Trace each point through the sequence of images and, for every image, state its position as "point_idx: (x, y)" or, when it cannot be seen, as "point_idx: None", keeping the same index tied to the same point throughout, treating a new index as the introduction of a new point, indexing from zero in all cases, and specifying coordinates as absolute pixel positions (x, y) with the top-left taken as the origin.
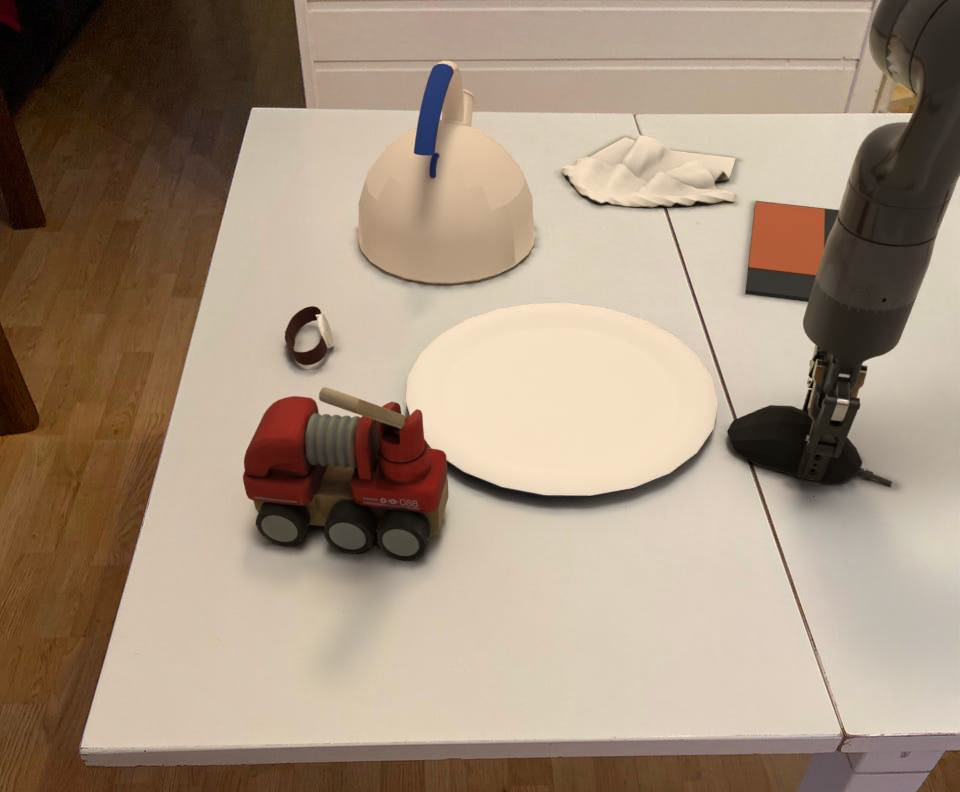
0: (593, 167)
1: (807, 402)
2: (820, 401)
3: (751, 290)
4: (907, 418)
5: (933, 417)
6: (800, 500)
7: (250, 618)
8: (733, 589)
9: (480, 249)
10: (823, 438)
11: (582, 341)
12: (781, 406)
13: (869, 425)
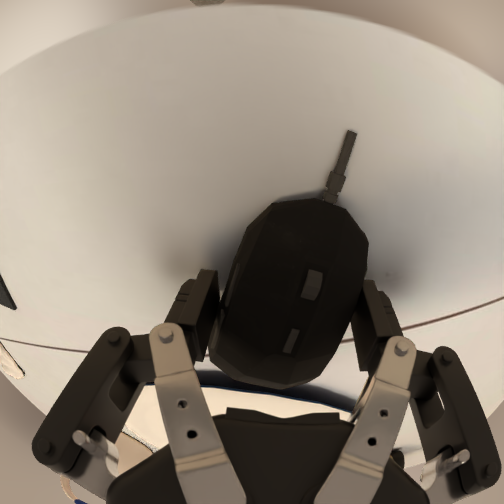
0: (7, 370)
1: (207, 342)
2: (203, 331)
3: (12, 306)
4: (112, 95)
5: (100, 52)
6: (393, 292)
7: (414, 458)
8: (489, 340)
9: (122, 452)
10: (417, 390)
11: (162, 428)
12: (223, 364)
13: (153, 165)
